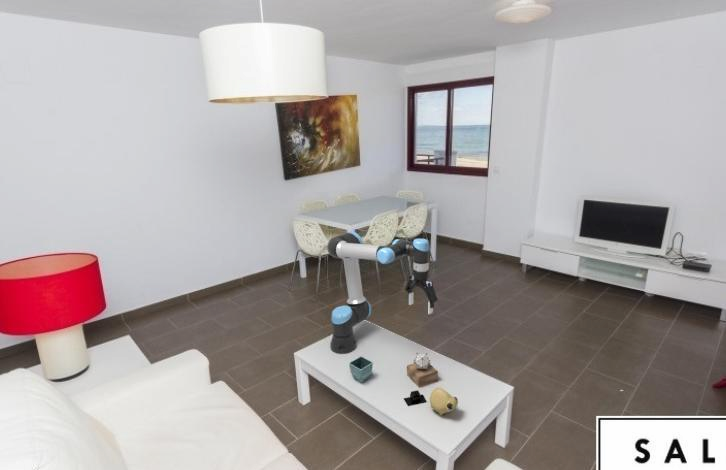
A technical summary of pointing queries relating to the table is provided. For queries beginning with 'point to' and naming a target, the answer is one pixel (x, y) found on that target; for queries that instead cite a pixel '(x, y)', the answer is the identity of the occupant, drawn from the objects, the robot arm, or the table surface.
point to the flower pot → (361, 368)
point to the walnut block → (422, 375)
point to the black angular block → (415, 398)
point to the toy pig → (442, 401)
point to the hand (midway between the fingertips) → (420, 308)
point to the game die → (421, 361)
